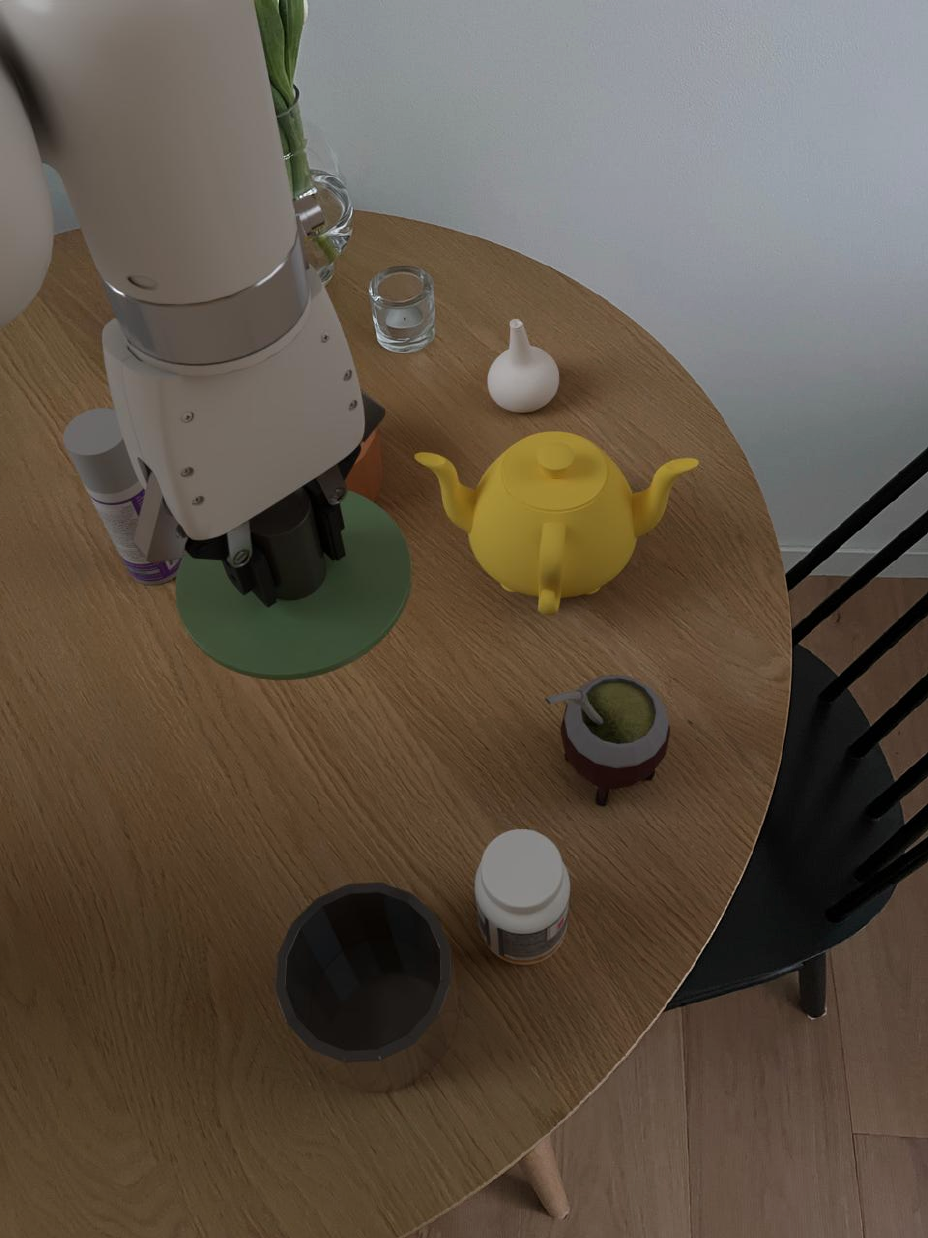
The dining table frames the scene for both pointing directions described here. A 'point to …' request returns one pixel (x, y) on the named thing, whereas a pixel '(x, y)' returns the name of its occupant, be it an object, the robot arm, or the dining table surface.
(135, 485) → the container
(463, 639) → the dining table surface
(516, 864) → the pill bottle
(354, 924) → the cup
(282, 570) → the lid
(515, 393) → the garlic bulb
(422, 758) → the dining table surface
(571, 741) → the mate gourd
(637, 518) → the teapot
